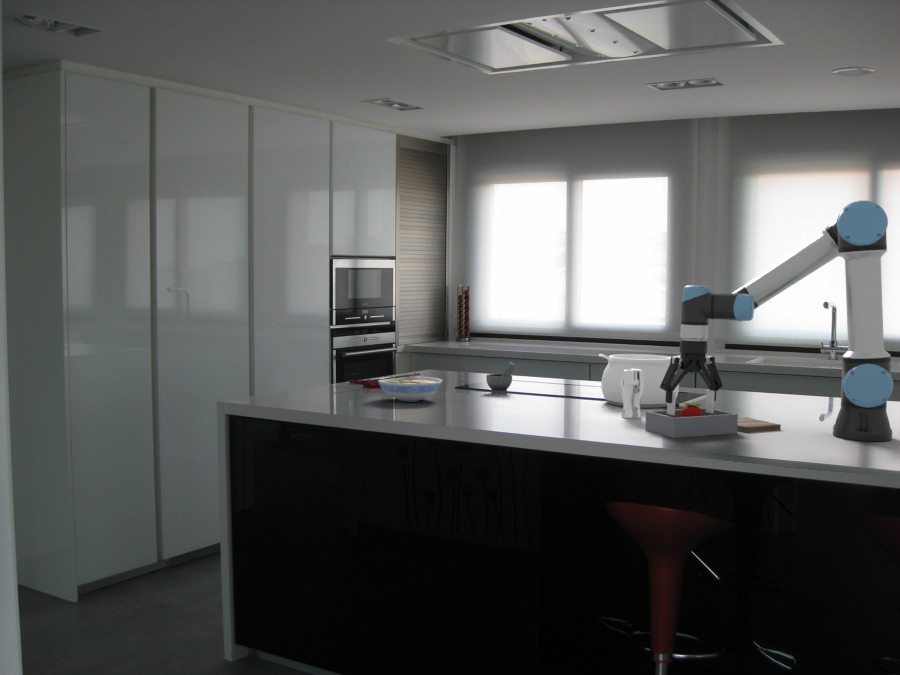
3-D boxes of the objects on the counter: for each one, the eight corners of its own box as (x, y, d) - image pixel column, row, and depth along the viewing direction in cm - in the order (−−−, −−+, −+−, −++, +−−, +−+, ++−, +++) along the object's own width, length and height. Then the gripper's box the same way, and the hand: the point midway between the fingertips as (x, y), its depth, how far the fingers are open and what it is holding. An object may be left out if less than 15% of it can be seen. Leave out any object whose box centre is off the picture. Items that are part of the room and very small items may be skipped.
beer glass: (626, 419, 275) (627, 371, 274) (616, 415, 281) (617, 368, 280) (646, 418, 277) (647, 370, 276) (636, 415, 283) (637, 368, 282)
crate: (737, 433, 252) (737, 414, 252) (673, 438, 244) (674, 418, 243) (706, 426, 264) (707, 407, 264) (645, 430, 255) (646, 411, 255)
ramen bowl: (412, 407, 294) (412, 383, 293) (361, 401, 307) (361, 377, 307) (457, 400, 313) (457, 377, 313) (407, 394, 327) (408, 372, 327)
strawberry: (676, 432, 252) (677, 397, 251) (684, 428, 259) (685, 394, 258) (697, 434, 249) (698, 399, 248) (705, 431, 255) (706, 396, 255)
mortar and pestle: (481, 393, 331) (482, 361, 330) (492, 391, 339) (492, 359, 338) (509, 396, 326) (510, 363, 325) (519, 393, 334) (520, 361, 333)
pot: (675, 399, 321) (677, 352, 319) (688, 410, 294) (689, 359, 293) (594, 397, 324) (596, 350, 322) (599, 408, 297) (601, 357, 296)
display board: (780, 429, 259) (780, 424, 259) (745, 432, 254) (745, 427, 254) (746, 422, 272) (747, 417, 272) (712, 424, 267) (713, 419, 267)
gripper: (719, 338, 260) (716, 409, 262) (649, 338, 250) (646, 413, 252) (737, 340, 253) (733, 413, 255) (665, 341, 244) (662, 417, 245)
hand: (690, 413), depth 254 cm, fingers open, 13 cm apart
